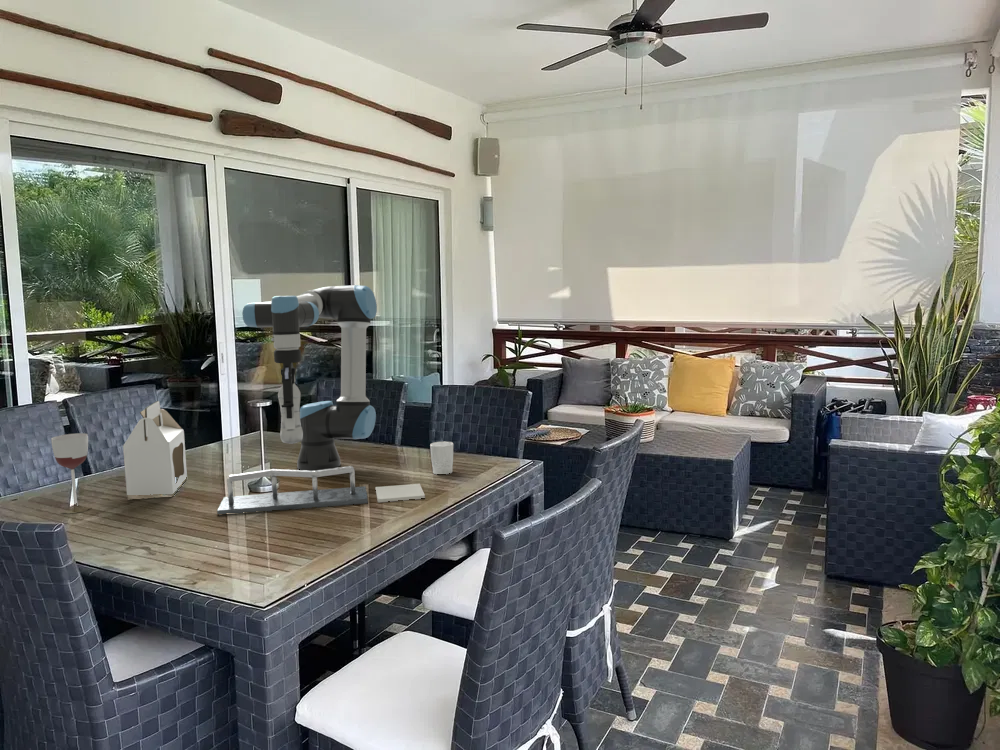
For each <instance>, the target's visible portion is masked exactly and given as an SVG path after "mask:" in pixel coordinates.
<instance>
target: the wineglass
mask: <svg viewBox="0 0 1000 750" xmlns="http://www.w3.org/2000/svg"><path fill="white" fill-rule="evenodd" d="M88 435H89V434H88V433H84V432H83V433H68V434H67V433H66V434H61V435H57V436H53V437H51V447H52V452H53V456H54V459H55V461H56V463H57V464H58V465H59V466H61V467H63V468H67V469H69V470H70V474H71V484H72V497H73V498H72V499H73V505H74V504H76V503H77V504H78V498H77V485H76V484H77V483H76V474H75V468H77V467H79V466H81V465H82V464H83V463H84V462H85V461H86V460H87V456H88V450H89V449H88V448H89V436H88Z"/></svg>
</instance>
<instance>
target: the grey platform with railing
mask: <svg viewBox="0 0 1000 750" xmlns="http://www.w3.org/2000/svg"><path fill="white" fill-rule="evenodd" d="M341 474H349V483H350V487H339V488H337V487H336V488H326V489H318V478H320V477H327V476H336V475H341ZM355 474H356V473H355V468H354V466H353V465H347V466H341V467H340V466H339V467H337V468H332V469H324V470H317V471H308V470H299V469H283V468H280V469H279V468H272V469H265V470H258V471H257V470H256V471H249V472H242V473H235V474H229V475H228V477H227V478H226V483H227V487H226V488H227V496H224V497H223V499H222V500H221V502H220V504H219V506H218V508H217V510H216V512H217V514H226V513H243V512H256V511H268V512H273V511H272V510H280V511H290V510H289V509H292V510H302V508H305V509H313V508H312V507H317V508H327V507H328V506H329V507H337V506H338V507H339V506H350V505H351V506H352V505H353V504H354V505H363V504H365V503H366V504H368V503H369V500H368V492H367V487H366V485H364V486H356V477H355V476H356V475H355ZM277 476H278V477H294V478H295V477H297V478H298V477H299V478H311V481H312V483H311V485H312V486H311V487H312V490H311V489H310V490H298V491H297V490H296V491H287V492H286V491H285V492H278V482H277ZM267 477H271V491H272V493H260V494H259V493H258V494H247V495H236V496H234V489H233V487H234V486H233V482H239V481H246V480H253V479H258V478H267ZM256 513H257V512H256ZM243 514H244V513H243Z"/></svg>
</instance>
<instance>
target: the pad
mask: <svg viewBox="0 0 1000 750" xmlns="http://www.w3.org/2000/svg"><path fill="white" fill-rule="evenodd" d="M375 490H376V491H375V494H376V499H377V503H389V502H388V501H390V502H399V501H398V500H403V501H410V500H409V499H415V500H422V499H421V498H425V499H426V494H425V492H424V490H423V488H422V486H421V483H412V484H410V483H409V484H398V485H386V486H385V485H384V486H375Z"/></svg>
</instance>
